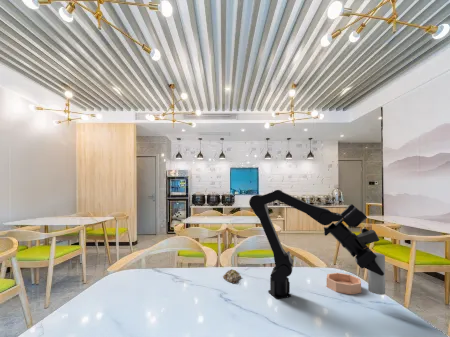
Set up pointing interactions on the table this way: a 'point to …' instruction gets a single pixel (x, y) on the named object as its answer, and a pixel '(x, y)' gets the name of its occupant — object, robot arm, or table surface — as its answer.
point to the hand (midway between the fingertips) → (380, 272)
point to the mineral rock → (232, 276)
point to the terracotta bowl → (344, 283)
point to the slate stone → (377, 277)
